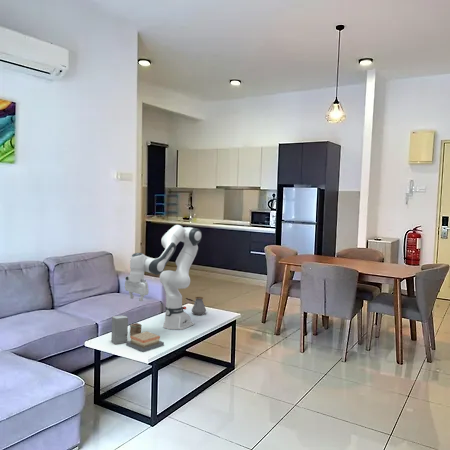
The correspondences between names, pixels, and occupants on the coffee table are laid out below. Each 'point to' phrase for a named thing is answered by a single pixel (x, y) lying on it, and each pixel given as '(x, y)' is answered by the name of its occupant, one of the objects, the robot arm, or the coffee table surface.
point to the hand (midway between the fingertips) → (136, 299)
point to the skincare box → (119, 329)
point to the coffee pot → (198, 306)
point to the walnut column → (135, 329)
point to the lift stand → (144, 341)
